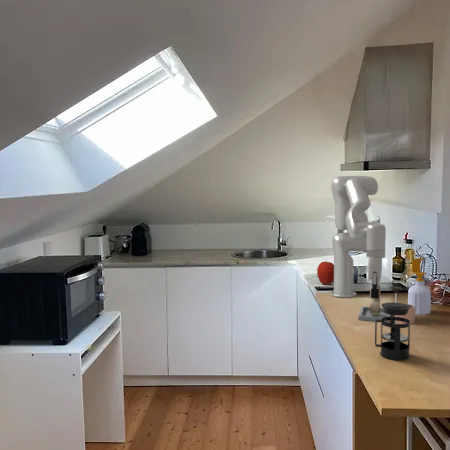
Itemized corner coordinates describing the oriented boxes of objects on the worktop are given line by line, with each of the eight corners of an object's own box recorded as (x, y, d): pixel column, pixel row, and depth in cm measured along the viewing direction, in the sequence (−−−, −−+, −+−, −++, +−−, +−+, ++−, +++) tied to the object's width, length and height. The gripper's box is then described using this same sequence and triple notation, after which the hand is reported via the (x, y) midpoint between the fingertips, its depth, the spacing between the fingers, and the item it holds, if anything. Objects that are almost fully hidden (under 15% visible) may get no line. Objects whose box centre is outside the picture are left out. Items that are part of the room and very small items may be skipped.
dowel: (370, 312, 207) (370, 284, 206) (380, 312, 206) (380, 285, 204) (369, 314, 203) (370, 286, 202) (379, 315, 202) (380, 287, 201)
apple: (316, 285, 267) (316, 260, 266) (318, 282, 277) (318, 257, 276) (335, 286, 264) (335, 261, 263) (336, 282, 274) (336, 258, 273)
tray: (361, 311, 214) (361, 306, 214) (390, 314, 210) (390, 308, 210) (358, 322, 199) (358, 316, 199) (389, 324, 195) (389, 318, 195)
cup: (396, 320, 201) (396, 303, 200) (414, 321, 199) (414, 304, 198) (396, 324, 195) (396, 307, 194) (414, 326, 192) (414, 309, 191)
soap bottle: (416, 317, 205) (418, 259, 203) (403, 311, 214) (404, 256, 211) (435, 315, 207) (436, 258, 205) (421, 309, 216) (422, 255, 214)
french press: (409, 351, 165) (410, 284, 163) (414, 361, 156) (416, 291, 154) (373, 349, 167) (374, 283, 165) (376, 359, 158) (377, 290, 156)
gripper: (367, 250, 211) (367, 291, 213) (364, 256, 195) (364, 300, 197) (386, 251, 208) (385, 292, 210) (384, 257, 193) (383, 302, 194)
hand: (375, 296), depth 204 cm, fingers open, 4 cm apart
